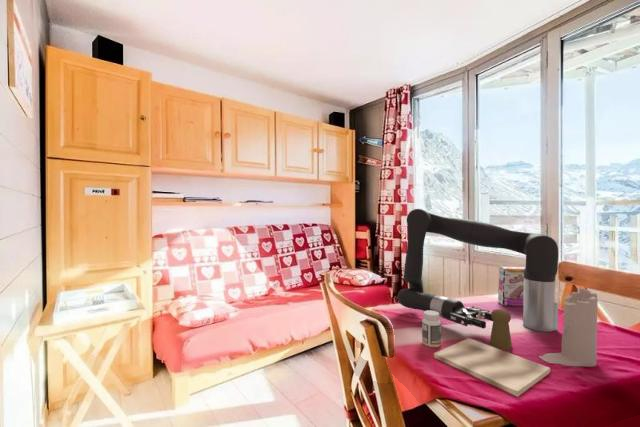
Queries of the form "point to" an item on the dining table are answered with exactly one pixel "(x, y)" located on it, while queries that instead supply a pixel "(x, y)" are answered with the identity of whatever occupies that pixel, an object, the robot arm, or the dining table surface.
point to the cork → (500, 330)
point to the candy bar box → (511, 286)
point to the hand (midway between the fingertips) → (492, 322)
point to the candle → (578, 331)
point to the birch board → (493, 365)
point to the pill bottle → (431, 329)
